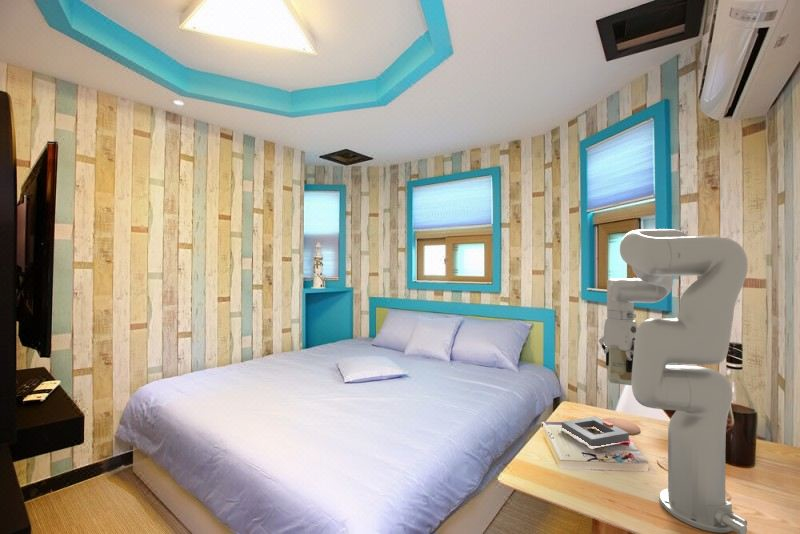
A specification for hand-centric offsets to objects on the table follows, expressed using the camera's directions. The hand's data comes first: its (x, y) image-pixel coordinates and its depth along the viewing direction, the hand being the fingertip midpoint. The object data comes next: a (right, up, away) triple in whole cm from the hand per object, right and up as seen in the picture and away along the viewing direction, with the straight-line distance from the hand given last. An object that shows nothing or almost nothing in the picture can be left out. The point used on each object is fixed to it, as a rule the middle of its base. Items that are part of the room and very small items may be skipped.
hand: (620, 368), depth 115 cm
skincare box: (0, -5, 0) cm, 5 cm away
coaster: (0, -20, 0) cm, 20 cm away
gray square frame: (-13, -20, -7) cm, 24 cm away
